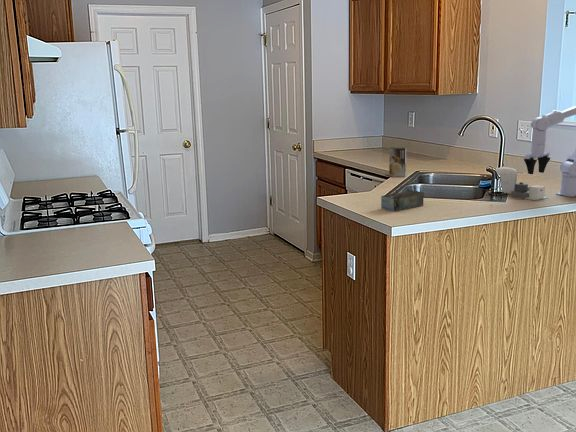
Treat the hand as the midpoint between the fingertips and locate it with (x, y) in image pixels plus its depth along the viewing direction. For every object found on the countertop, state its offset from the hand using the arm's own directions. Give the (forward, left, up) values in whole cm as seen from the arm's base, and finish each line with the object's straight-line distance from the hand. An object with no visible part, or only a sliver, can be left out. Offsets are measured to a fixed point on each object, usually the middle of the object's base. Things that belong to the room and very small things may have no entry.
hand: (535, 173), depth 265 cm
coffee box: (+17, -78, -11) cm, 81 cm away
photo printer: (+7, -11, -11) cm, 17 cm away
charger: (+5, +5, -10) cm, 12 cm away
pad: (+5, +5, -10) cm, 13 cm away
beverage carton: (+68, -12, -11) cm, 70 cm away
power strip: (+4, -1, -10) cm, 11 cm away
